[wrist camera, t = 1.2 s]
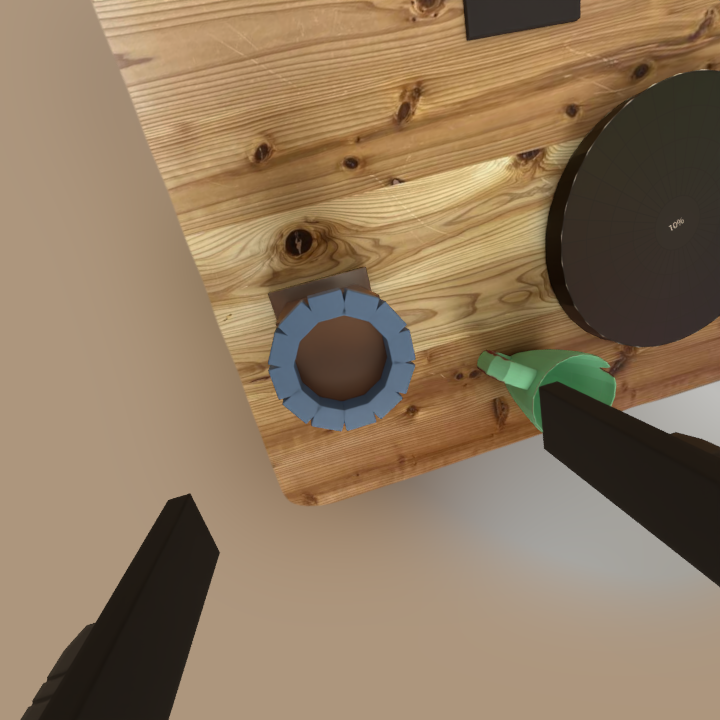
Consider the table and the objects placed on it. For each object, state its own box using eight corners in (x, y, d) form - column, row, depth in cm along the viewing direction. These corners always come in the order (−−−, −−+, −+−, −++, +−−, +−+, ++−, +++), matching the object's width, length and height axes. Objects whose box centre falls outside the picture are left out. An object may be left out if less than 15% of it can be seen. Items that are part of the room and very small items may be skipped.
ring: (252, 310, 24) (247, 314, 22) (391, 272, 25) (397, 273, 23) (296, 435, 27) (295, 447, 26) (418, 398, 28) (425, 407, 26)
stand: (269, 292, 37) (248, 309, 24) (363, 266, 38) (393, 269, 25) (298, 380, 41) (295, 438, 27) (384, 355, 41) (421, 399, 28)
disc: (706, 15, 36) (740, -6, 33) (787, 232, 45) (819, 230, 42) (497, 218, 39) (512, 214, 36) (613, 384, 48) (633, 391, 45)
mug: (564, 347, 45) (633, 370, 36) (530, 411, 47) (587, 449, 38) (472, 310, 42) (521, 325, 32) (440, 381, 44) (477, 414, 34)
